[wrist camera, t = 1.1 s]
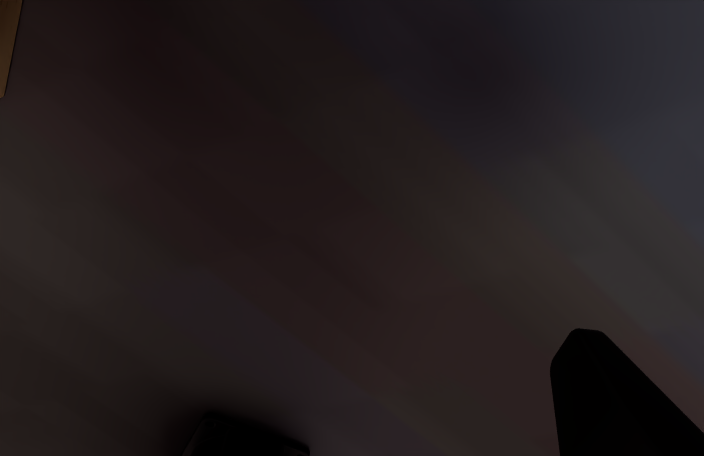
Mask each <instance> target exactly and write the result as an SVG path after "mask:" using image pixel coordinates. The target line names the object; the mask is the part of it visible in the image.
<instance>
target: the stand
mask: <svg viewBox="0 0 704 456" xmlns="http://www.w3.org/2000/svg"><path fill="white" fill-rule="evenodd" d="M21 5H22V0H0V98H2V97H3V96H4V93H5V88H6V83H7V78H8V73H9V67H10V62H11V57H12V52H13V47H14V42H15V36H16V31H17V26H18V21H19V16H20V11H21Z"/></svg>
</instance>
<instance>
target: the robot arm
mask: <svg viewBox="0 0 704 456" xmlns="http://www.w3.org/2000/svg"><path fill="white" fill-rule="evenodd" d="M550 377H551V386H552V394H553V402H554V410H555V418H556V426H557V434H558V442H559V450H560V456H704V433H703V432H702V431H701V430H700V429H699V428H698V427H697V426H696V425H695V424H694V423H693V422H692V421H691V420H690V419H689V418H688V417H687V416H686V415H685V414H684V413H683V412H682V411H681V410H680V409H679V408H678V407H677V406H676V405H675V404H674V403H673V402H672V401H671V400H670V399H669V398H668V397H667V396H666V395H665V394H664V393H663V392H662V391H661V390H660V389H659V388H658V387H657V386H656V385H655V384H654V383H653V382H652V381H651V380H650V379H649V378H648V377H647V376H646V375H645V374H644V373H643V372H642V371H641V370H640V369H639V368H638V367H637V366H636V365H635V364H634V363H633V362H632V361H631V360H630V359H629V358H628V357H627V356H626V355H625V354H624V353H623V352H622V351H621V350H620V349H619V348H618V347H617V346H616V345H615V344H614V343H613V342H612V341H611V340H610V339H609V338H608V337H607V336H606V335H605V334H604V333H603V332H601V331H598V330H590V329H580V328H578V329H575V330H573V331H571V332H570V334H569V335H568V337H567V338H566V340H565V341H564V343H563V344H562V346H561V347H560V349H559V350H558V352H557V353H556V355H555V356H554V358H553V360H552V363H551V367H550ZM309 455H310V451H309V449H308V448H306V447H305V446H302V445H299V444H296V443H294V442H291V441H288V440H285V439H283V438H280V437H277V436H275V435H272V434H269V433H266V432H264V431H261V430H258V429H256V428H253V427H250V426H247V425H245V424H242V423H239V422H237V421H234V420H231V419H228V418H226V417H223V416H220V415H217V414H215V413H207V414H205V415H204V416H203V417H202V419H201V421H200V423H199V424H198V426H197V428H196V429H195V431H194V433H193V435H192V436H191V438H190V440H189V441H188V443H187V445H186V447H185V448H184V450H183V452H182V453H181V455H180V456H309Z"/></svg>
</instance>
